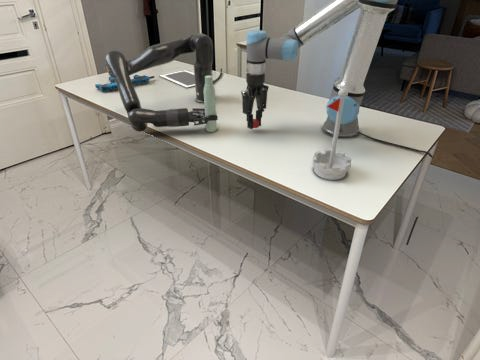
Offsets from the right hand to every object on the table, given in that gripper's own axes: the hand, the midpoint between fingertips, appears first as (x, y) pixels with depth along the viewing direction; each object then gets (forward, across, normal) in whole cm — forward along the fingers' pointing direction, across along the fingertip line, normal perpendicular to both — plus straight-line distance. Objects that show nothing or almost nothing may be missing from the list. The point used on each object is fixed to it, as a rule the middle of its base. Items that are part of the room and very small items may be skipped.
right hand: (254, 126), depth 148 cm
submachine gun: (+3, +13, -102) cm, 103 cm away
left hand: (-4, +11, -12) cm, 17 cm away
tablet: (+3, -20, -86) cm, 88 cm away
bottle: (+2, +13, -14) cm, 19 cm away
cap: (-2, 0, 0) cm, 2 cm away
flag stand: (+2, +3, +43) cm, 43 cm away
